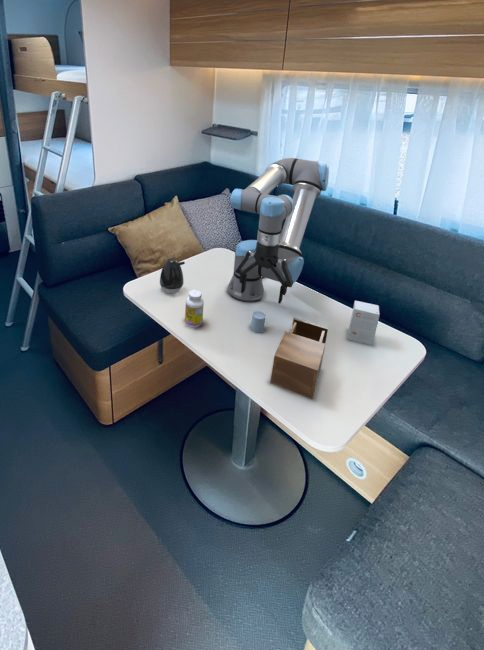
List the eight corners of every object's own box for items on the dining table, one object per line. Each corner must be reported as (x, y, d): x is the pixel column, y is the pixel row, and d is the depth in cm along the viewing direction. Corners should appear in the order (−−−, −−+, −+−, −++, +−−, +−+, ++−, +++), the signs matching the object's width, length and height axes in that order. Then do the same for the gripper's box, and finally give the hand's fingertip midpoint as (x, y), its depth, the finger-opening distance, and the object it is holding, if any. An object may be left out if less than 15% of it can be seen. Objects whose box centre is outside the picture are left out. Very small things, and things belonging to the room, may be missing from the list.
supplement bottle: (181, 320, 155) (182, 290, 151) (196, 315, 158) (198, 286, 154) (190, 330, 150) (192, 300, 145) (205, 325, 153) (207, 295, 148)
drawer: (293, 331, 149) (296, 311, 146) (326, 342, 144) (330, 321, 141) (282, 358, 135) (285, 336, 132) (317, 371, 130) (322, 348, 127)
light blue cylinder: (253, 323, 155) (254, 309, 153) (265, 327, 153) (267, 313, 150) (249, 329, 151) (250, 316, 149) (261, 334, 149) (263, 320, 147)
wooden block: (281, 357, 137) (285, 331, 134) (320, 370, 132) (325, 343, 128) (270, 383, 126) (274, 355, 122) (312, 399, 120) (317, 370, 117)
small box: (372, 335, 149) (379, 305, 145) (372, 346, 144) (380, 314, 139) (348, 329, 152) (354, 299, 148) (347, 339, 147) (354, 308, 142)
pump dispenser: (181, 298, 170) (182, 265, 164) (157, 295, 171) (157, 262, 166) (185, 285, 179) (186, 254, 174) (162, 282, 181) (163, 252, 175)
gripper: (229, 238, 142) (224, 291, 149) (303, 255, 131) (294, 311, 138) (236, 231, 148) (232, 282, 155) (307, 246, 137) (298, 301, 144)
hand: (261, 296), depth 147 cm, fingers open, 13 cm apart
